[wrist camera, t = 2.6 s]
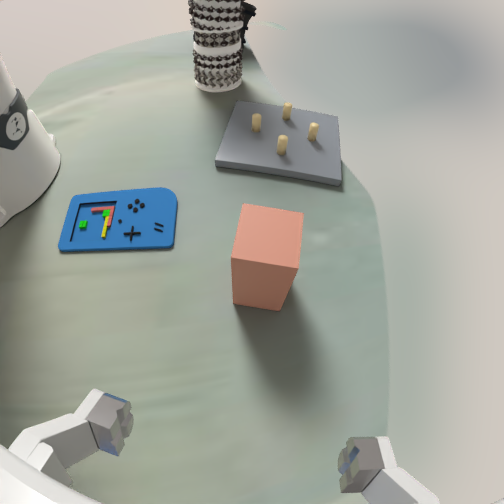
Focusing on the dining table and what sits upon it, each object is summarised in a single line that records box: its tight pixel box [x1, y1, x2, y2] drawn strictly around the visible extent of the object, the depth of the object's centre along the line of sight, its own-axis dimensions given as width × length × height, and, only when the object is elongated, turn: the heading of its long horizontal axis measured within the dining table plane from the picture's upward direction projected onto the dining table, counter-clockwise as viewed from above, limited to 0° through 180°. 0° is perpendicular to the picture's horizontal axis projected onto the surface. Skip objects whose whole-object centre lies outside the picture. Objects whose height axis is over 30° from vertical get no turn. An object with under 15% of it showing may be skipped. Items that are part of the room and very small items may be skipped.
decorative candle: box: [188, 0, 245, 92], centre depth 37 cm, size 9×9×25 cm
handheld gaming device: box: [58, 188, 177, 252], centre depth 33 cm, size 8×1×15 cm
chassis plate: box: [215, 101, 342, 186], centre depth 39 cm, size 16×14×4 cm
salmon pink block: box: [231, 203, 304, 311], centre depth 26 cm, size 5×5×10 cm
